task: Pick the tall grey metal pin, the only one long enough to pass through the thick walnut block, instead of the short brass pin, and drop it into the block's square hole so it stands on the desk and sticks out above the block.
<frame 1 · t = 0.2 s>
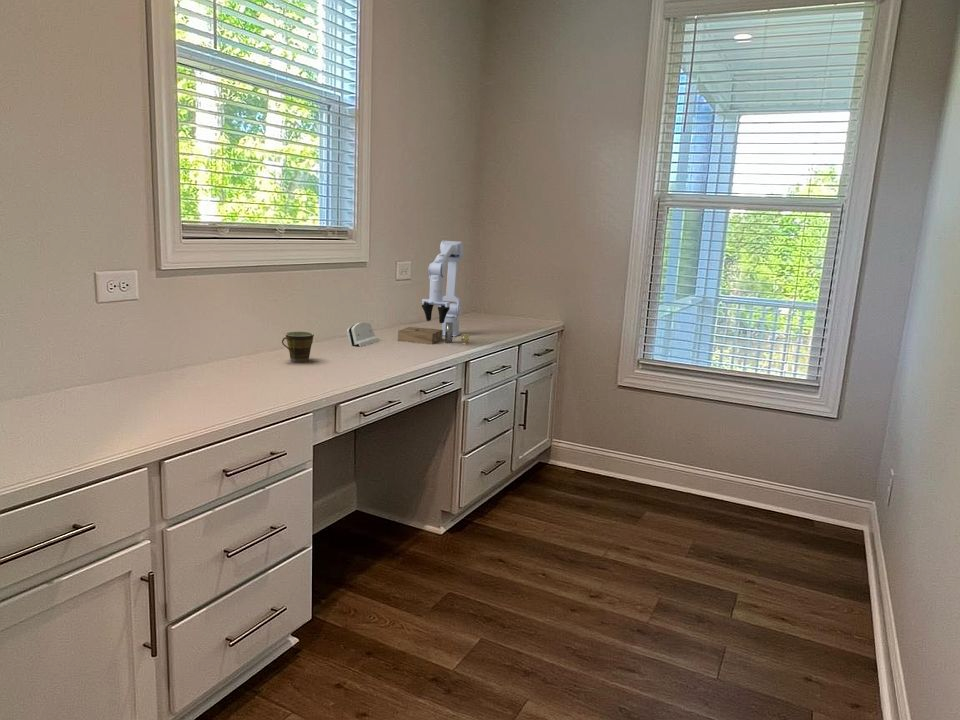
hand: (435, 321, 300), 10 cm above the table, tool pointing down, fingers open, 7 cm apart
hole block: (420, 340, 309), on the table
ceramic cup: (296, 361, 254), on the table
short pin: (464, 343, 307), on the table
tall pin: (448, 342, 307), on the table
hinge: (362, 344, 295), on the table
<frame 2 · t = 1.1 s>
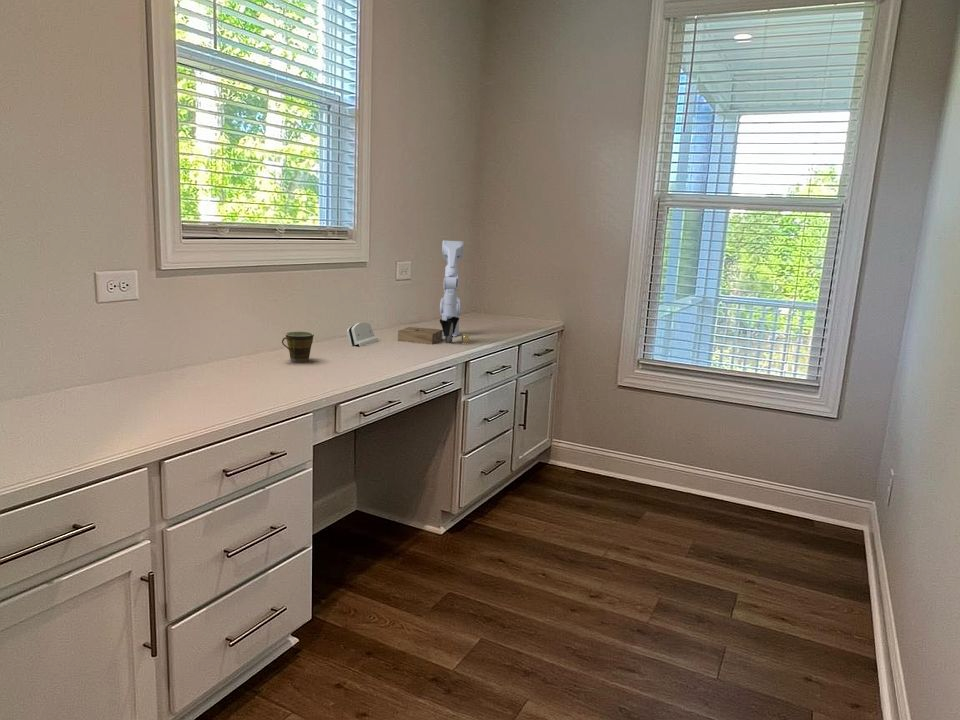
hand: (448, 334, 306), 4 cm above the table, tool pointing down, fingers open, 7 cm apart
nothing on the table moved.
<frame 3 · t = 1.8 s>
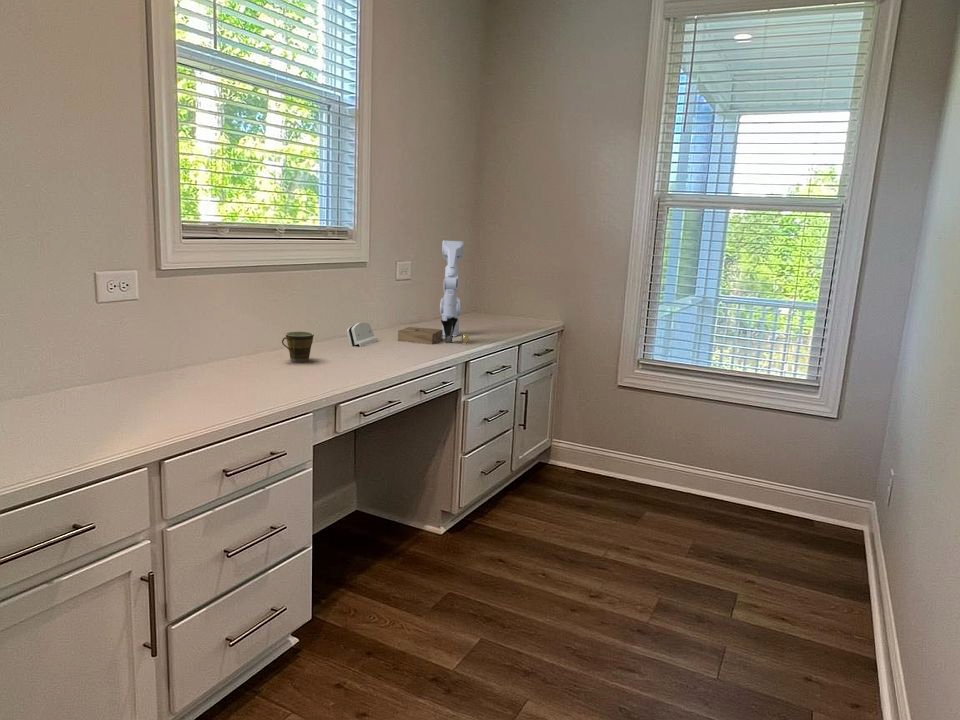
hand: (448, 335, 306), 3 cm above the table, tool pointing down, fingers closed on tall pin, 3 cm apart
tall pin: (448, 342, 307), on the table, touching gripper
everything else where it was.
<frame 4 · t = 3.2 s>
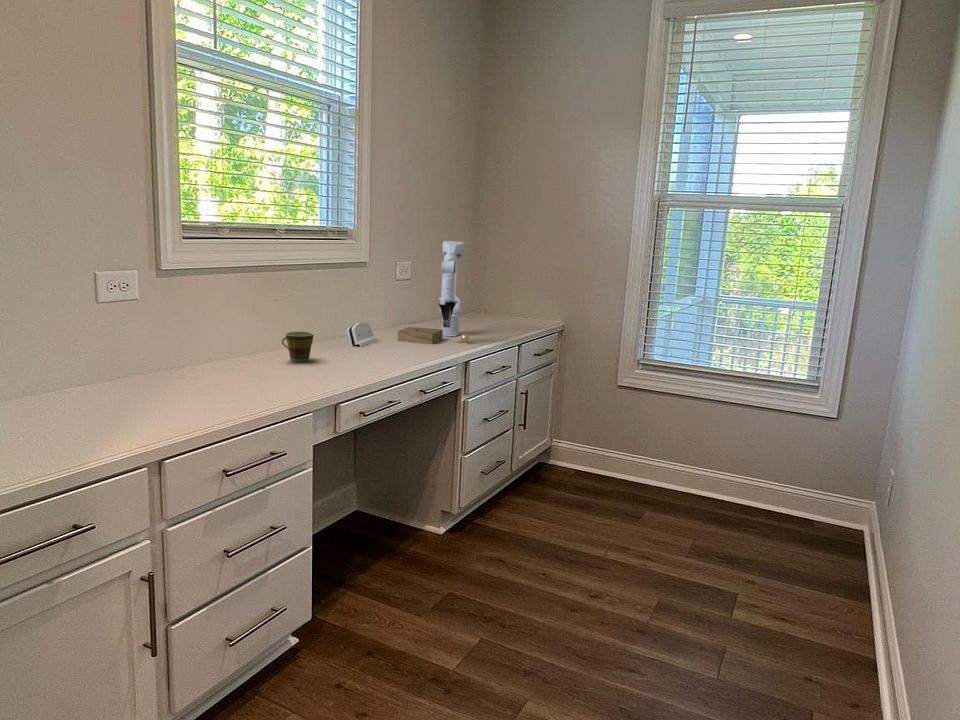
hand: (446, 319, 305), 10 cm above the table, tool pointing down, fingers closed on tall pin, 3 cm apart
tall pin: (446, 326, 306), point 7 cm above the table, touching gripper
everything else where it was.
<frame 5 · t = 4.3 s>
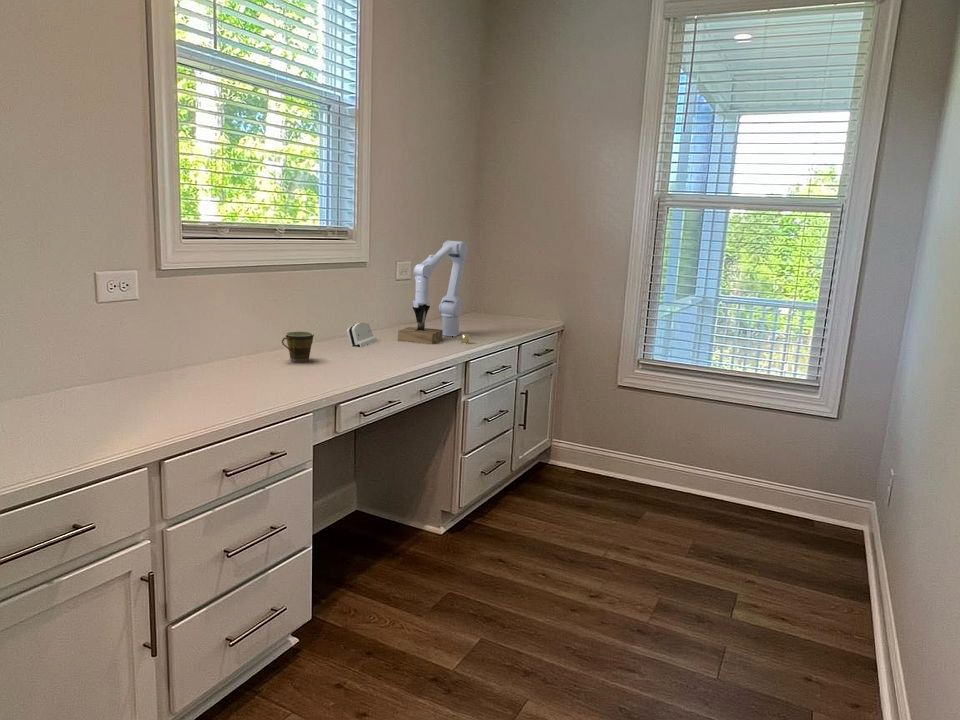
hand: (420, 322, 308), 8 cm above the table, tool pointing down, fingers closed on tall pin, 3 cm apart
tall pin: (420, 329, 308), point 5 cm above the table, touching gripper
everything else where it was.
when the fingers open (7 cm above the table, at t = 4.8 s): tall pin drops 3 cm, resting in hole block.
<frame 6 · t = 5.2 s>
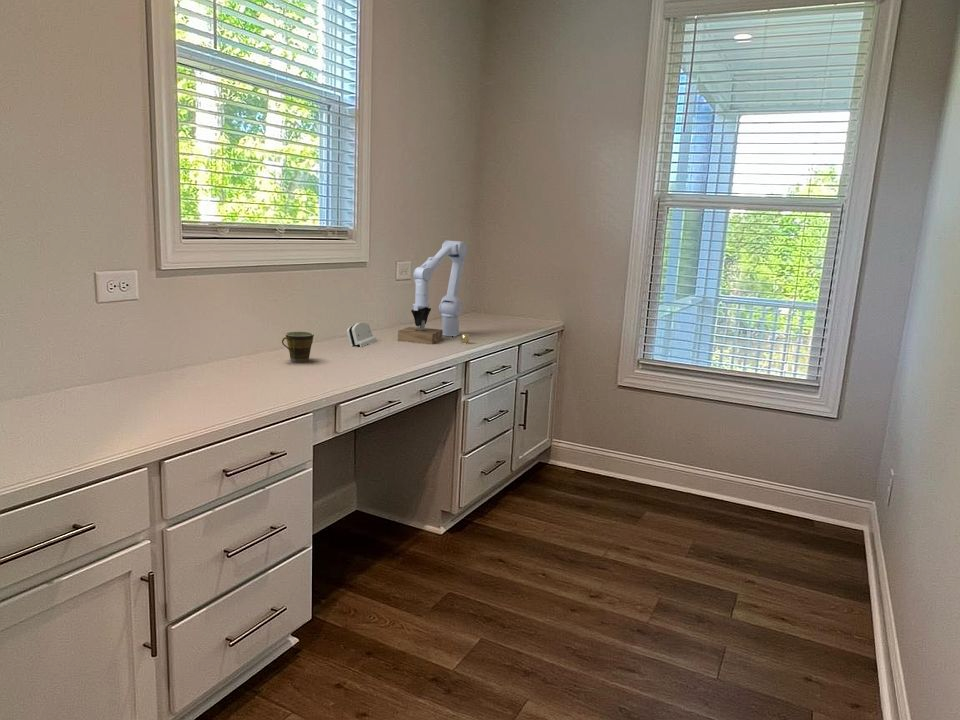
hand: (420, 324, 308), 7 cm above the table, tool pointing down, fingers open, 6 cm apart
tall pin: (420, 340, 309), resting in hole block
everything else where it was.
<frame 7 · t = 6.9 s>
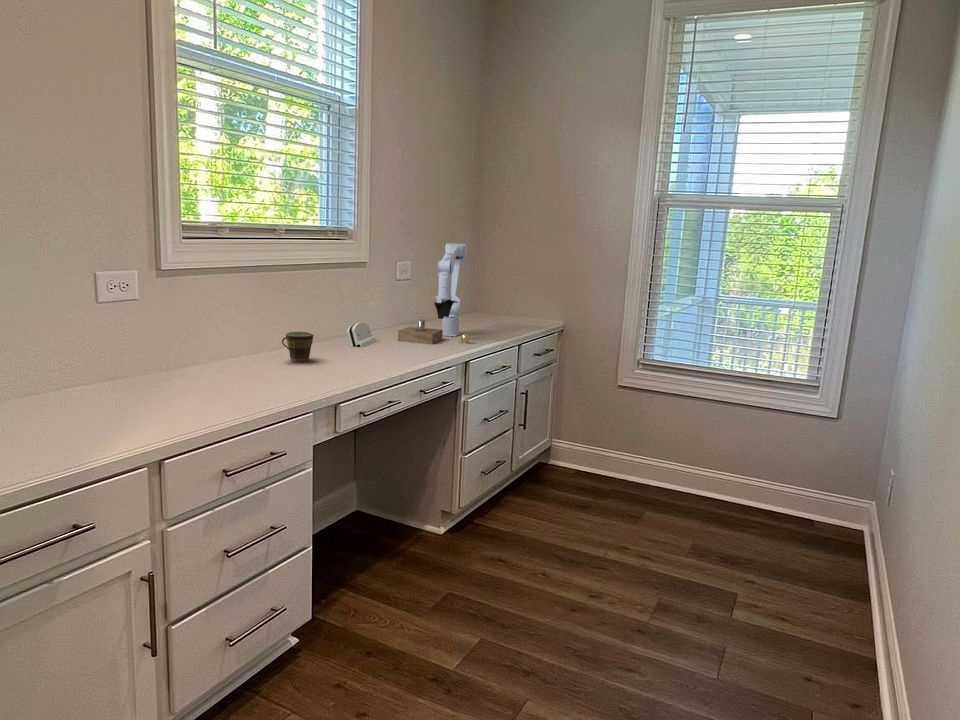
hand: (443, 317, 310), 10 cm above the table, tool pointing down, fingers open, 7 cm apart
nothing on the table moved.
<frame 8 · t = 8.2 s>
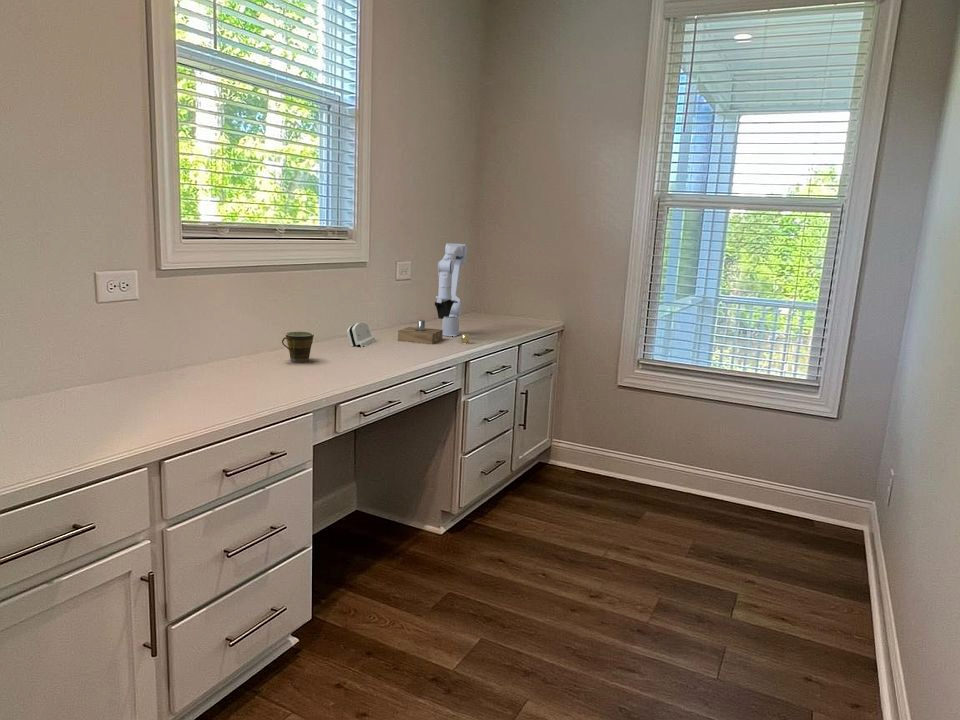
hand: (443, 317, 310), 10 cm above the table, tool pointing down, fingers open, 7 cm apart
nothing on the table moved.
at the end: tall pin 0.1 cm off-centre on the hole block, point 0.0 cm above the hole block's base; tall pin tilted 0°; short pin moved 0.1 cm from its start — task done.
